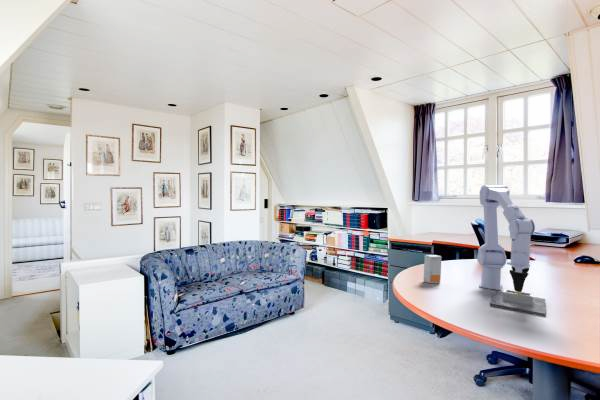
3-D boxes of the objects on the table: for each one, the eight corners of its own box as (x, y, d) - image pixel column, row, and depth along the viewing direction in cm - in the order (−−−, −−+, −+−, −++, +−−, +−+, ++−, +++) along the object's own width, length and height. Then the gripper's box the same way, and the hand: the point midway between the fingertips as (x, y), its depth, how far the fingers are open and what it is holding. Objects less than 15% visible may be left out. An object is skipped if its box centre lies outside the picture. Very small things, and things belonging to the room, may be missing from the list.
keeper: (496, 293, 135) (496, 280, 134) (545, 301, 125) (545, 288, 125) (489, 305, 118) (490, 292, 118) (545, 316, 109) (546, 301, 109)
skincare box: (429, 283, 146) (430, 256, 146) (423, 281, 151) (424, 254, 150) (440, 283, 148) (441, 256, 148) (434, 280, 152) (435, 254, 152)
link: (502, 300, 122) (503, 291, 122) (504, 296, 126) (504, 288, 126) (532, 305, 117) (533, 296, 117) (532, 301, 121) (533, 293, 121)
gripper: (509, 248, 130) (507, 282, 130) (505, 253, 118) (504, 290, 118) (531, 250, 125) (529, 285, 126) (529, 255, 114) (528, 294, 114)
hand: (518, 288), depth 122 cm, fingers open, 7 cm apart
